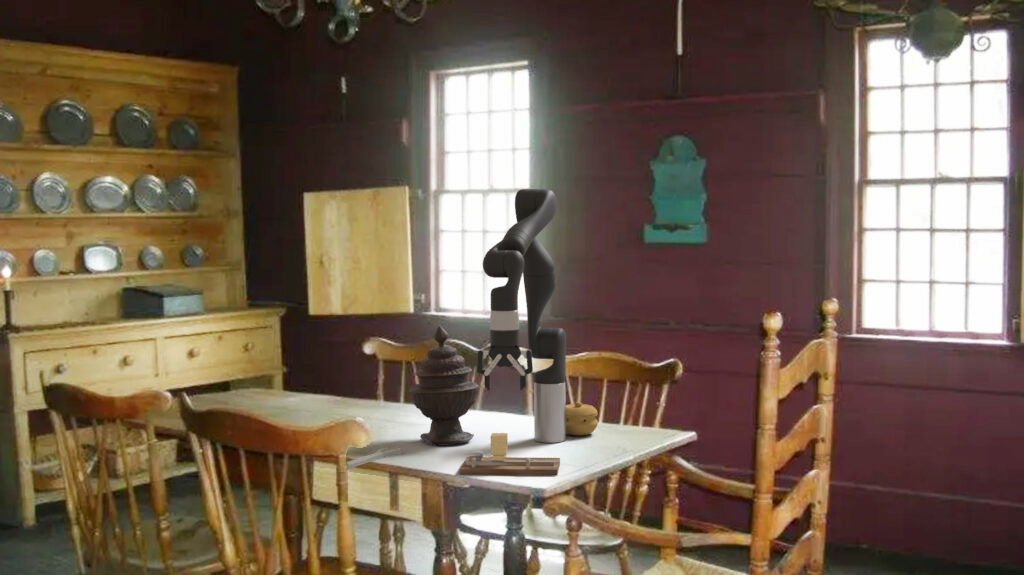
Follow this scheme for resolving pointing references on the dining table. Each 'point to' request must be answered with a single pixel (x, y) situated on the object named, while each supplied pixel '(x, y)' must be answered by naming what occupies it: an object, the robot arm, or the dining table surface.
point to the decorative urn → (444, 393)
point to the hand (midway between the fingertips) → (505, 389)
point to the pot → (580, 419)
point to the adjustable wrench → (374, 456)
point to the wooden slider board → (508, 465)
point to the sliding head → (499, 446)
